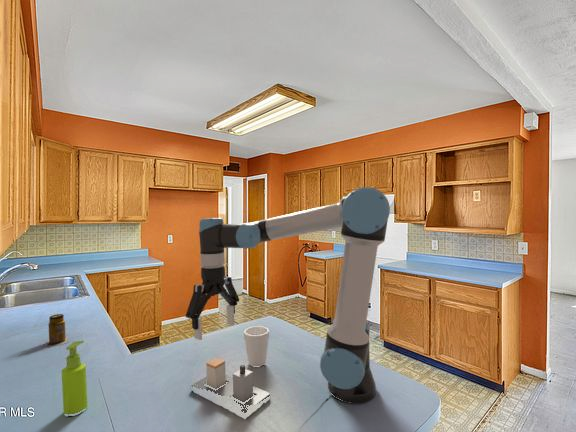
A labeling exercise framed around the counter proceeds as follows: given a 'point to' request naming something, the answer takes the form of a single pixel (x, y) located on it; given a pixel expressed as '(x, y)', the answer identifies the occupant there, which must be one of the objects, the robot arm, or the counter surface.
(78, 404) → the soap dispenser
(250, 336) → the foam cup
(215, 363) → the plug
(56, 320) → the condiment
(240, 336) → the counter surface
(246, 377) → the grey tall block
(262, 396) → the socket strip
